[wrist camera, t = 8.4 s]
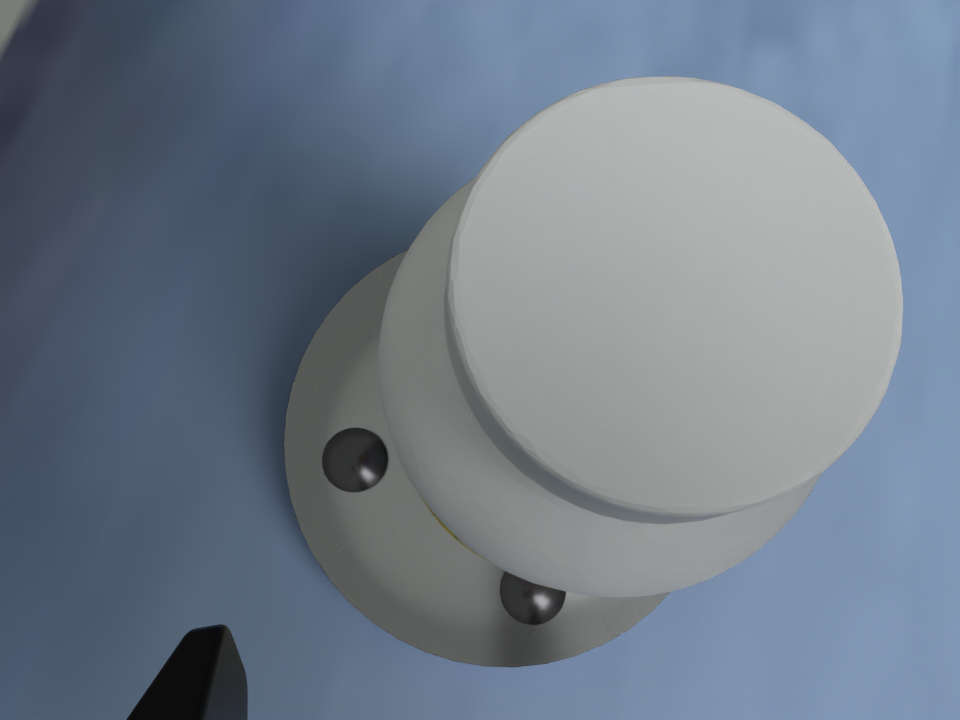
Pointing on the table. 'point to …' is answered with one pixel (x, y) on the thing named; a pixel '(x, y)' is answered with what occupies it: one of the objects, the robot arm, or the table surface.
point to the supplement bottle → (639, 336)
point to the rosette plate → (411, 518)
